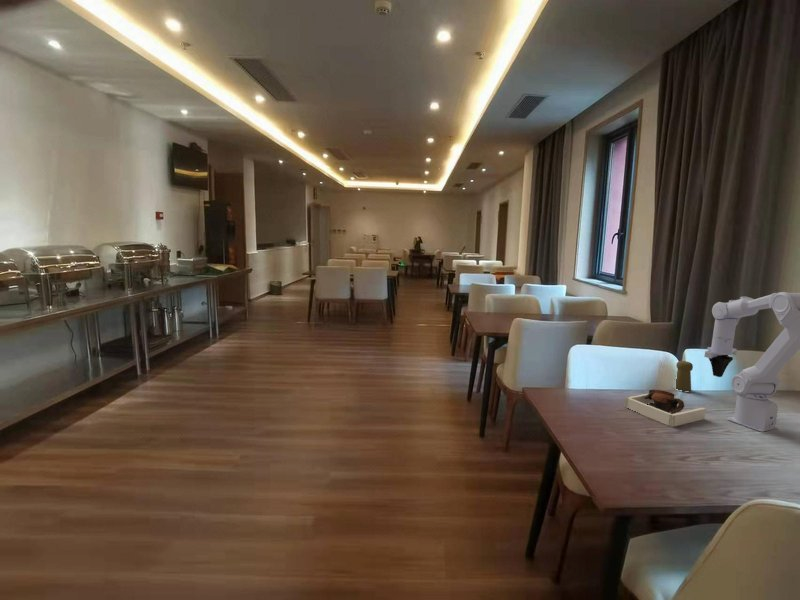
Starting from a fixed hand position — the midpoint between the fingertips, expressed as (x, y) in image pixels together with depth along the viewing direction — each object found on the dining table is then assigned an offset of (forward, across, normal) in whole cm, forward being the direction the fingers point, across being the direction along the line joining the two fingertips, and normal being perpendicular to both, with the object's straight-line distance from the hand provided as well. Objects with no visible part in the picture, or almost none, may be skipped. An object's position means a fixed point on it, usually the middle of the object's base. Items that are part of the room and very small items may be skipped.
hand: (717, 376), depth 143 cm
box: (+10, +24, -1) cm, 26 cm away
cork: (+11, -6, -14) cm, 19 cm away
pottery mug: (+11, +23, -2) cm, 26 cm away
